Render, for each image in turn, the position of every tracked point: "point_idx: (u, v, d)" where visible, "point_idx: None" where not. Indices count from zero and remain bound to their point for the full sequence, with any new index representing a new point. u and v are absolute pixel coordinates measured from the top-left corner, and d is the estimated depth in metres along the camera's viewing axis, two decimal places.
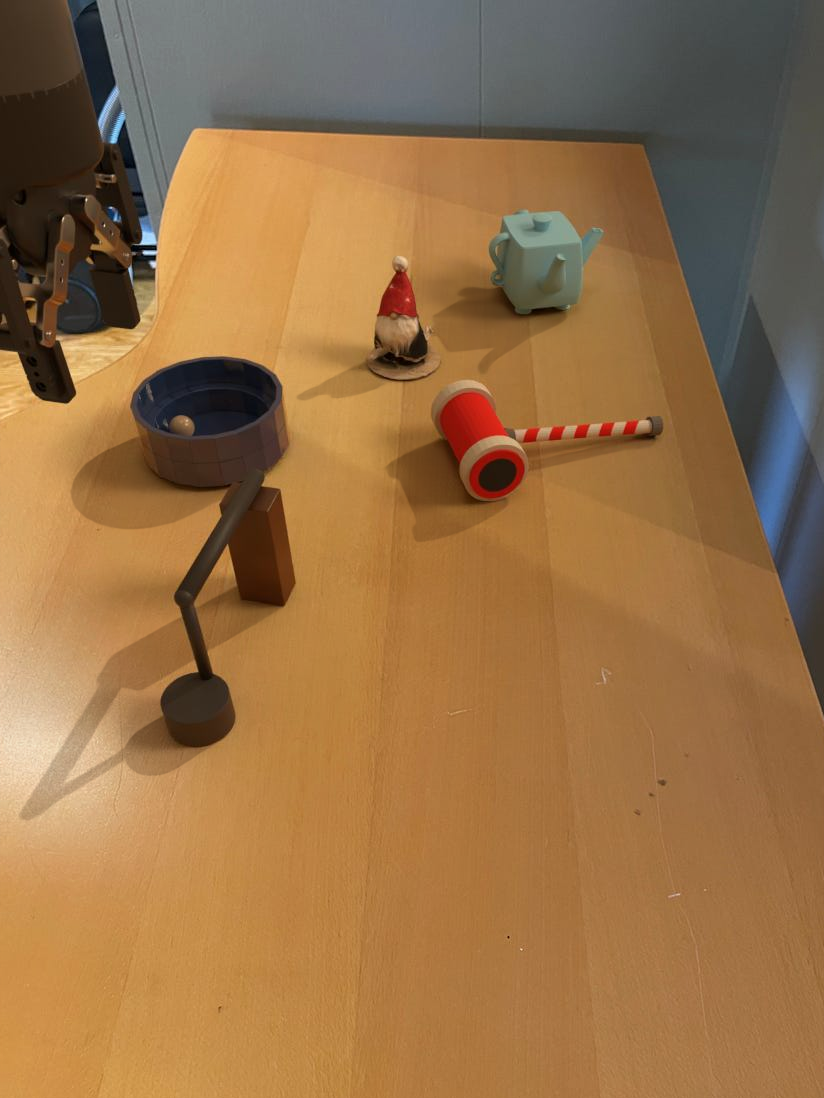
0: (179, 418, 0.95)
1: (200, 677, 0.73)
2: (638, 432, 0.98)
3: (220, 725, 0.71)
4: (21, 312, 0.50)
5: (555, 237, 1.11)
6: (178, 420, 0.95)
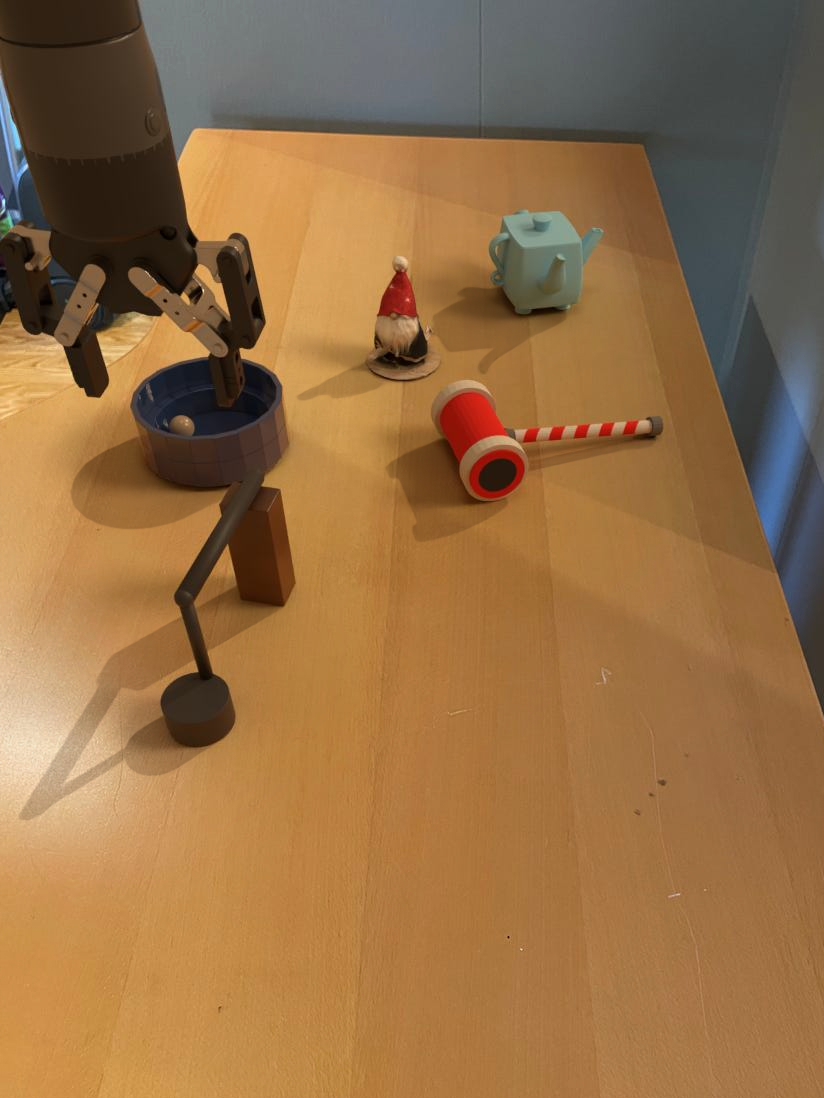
0: (179, 418, 0.95)
1: (200, 677, 0.73)
2: (638, 432, 0.98)
3: (220, 725, 0.71)
4: (27, 301, 0.57)
5: (555, 237, 1.11)
6: (178, 420, 0.95)
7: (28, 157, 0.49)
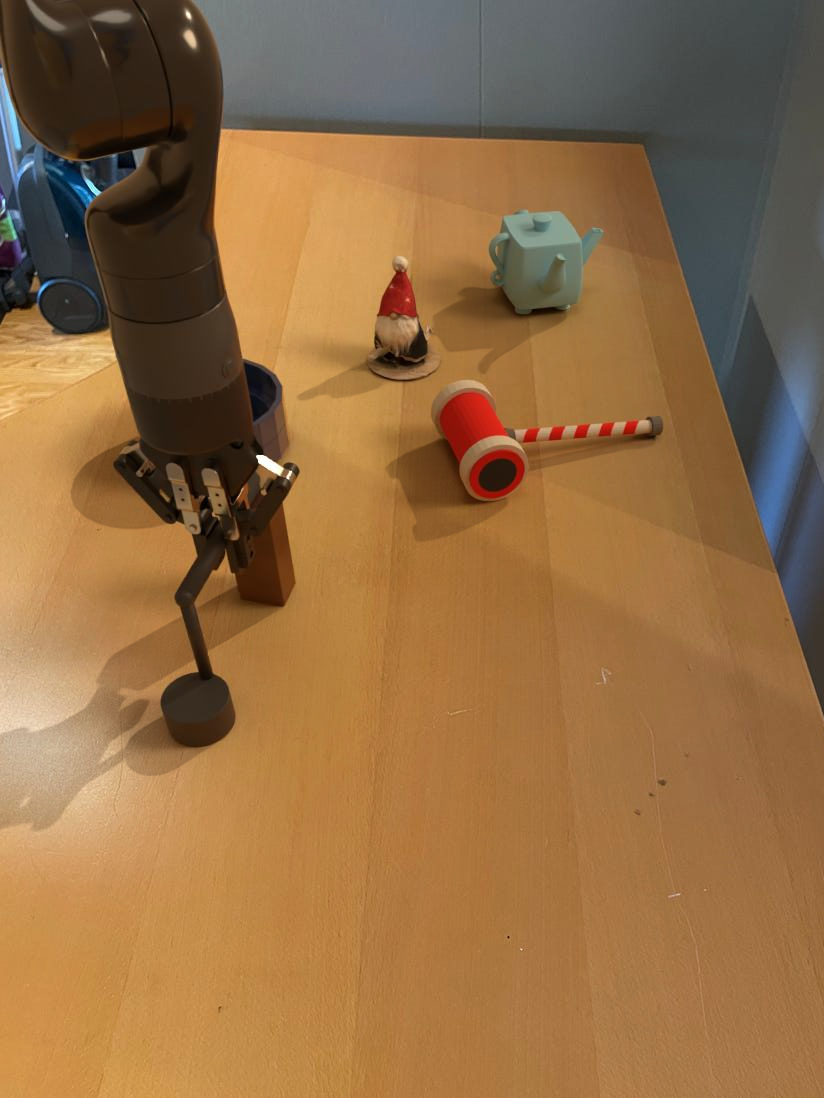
0: None
1: (200, 677, 0.73)
2: (638, 432, 0.98)
3: (220, 725, 0.71)
4: (154, 500, 0.69)
5: (555, 237, 1.11)
6: None
7: (127, 390, 0.60)
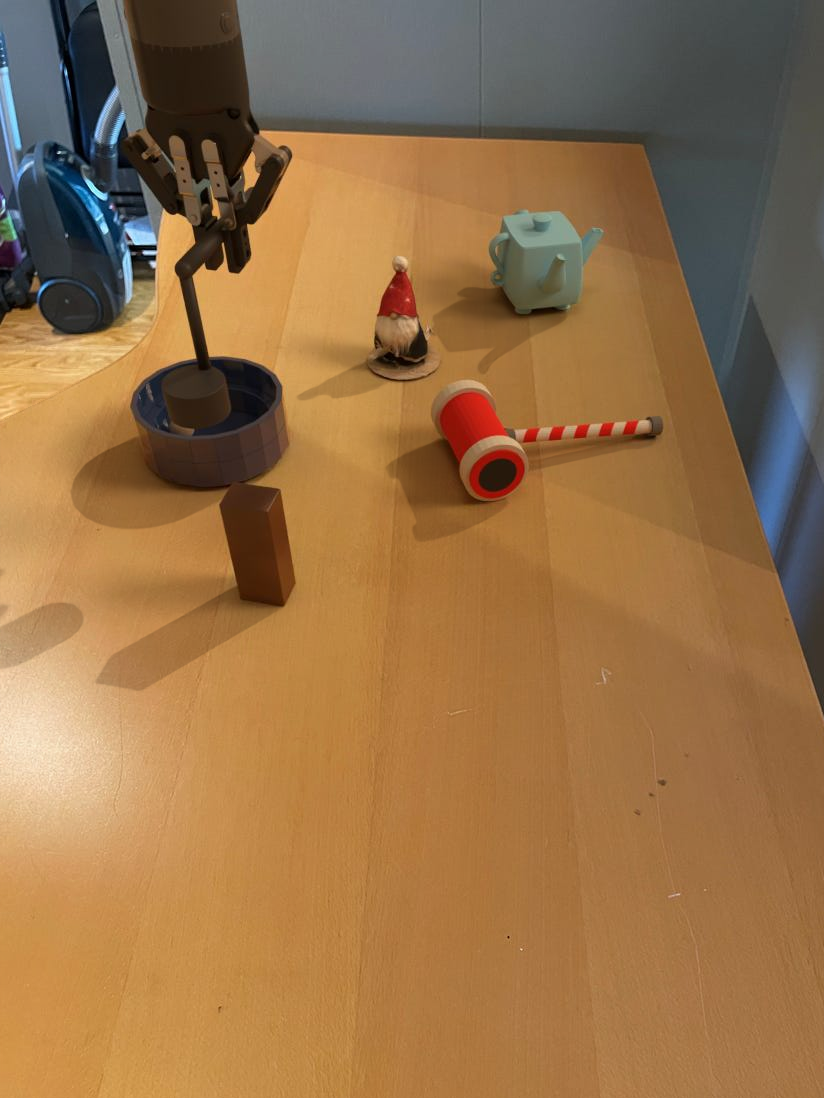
0: None
1: (199, 368, 0.78)
2: (638, 432, 0.98)
3: (216, 407, 0.77)
4: (158, 187, 0.74)
5: (555, 237, 1.11)
6: None
7: (133, 45, 0.66)
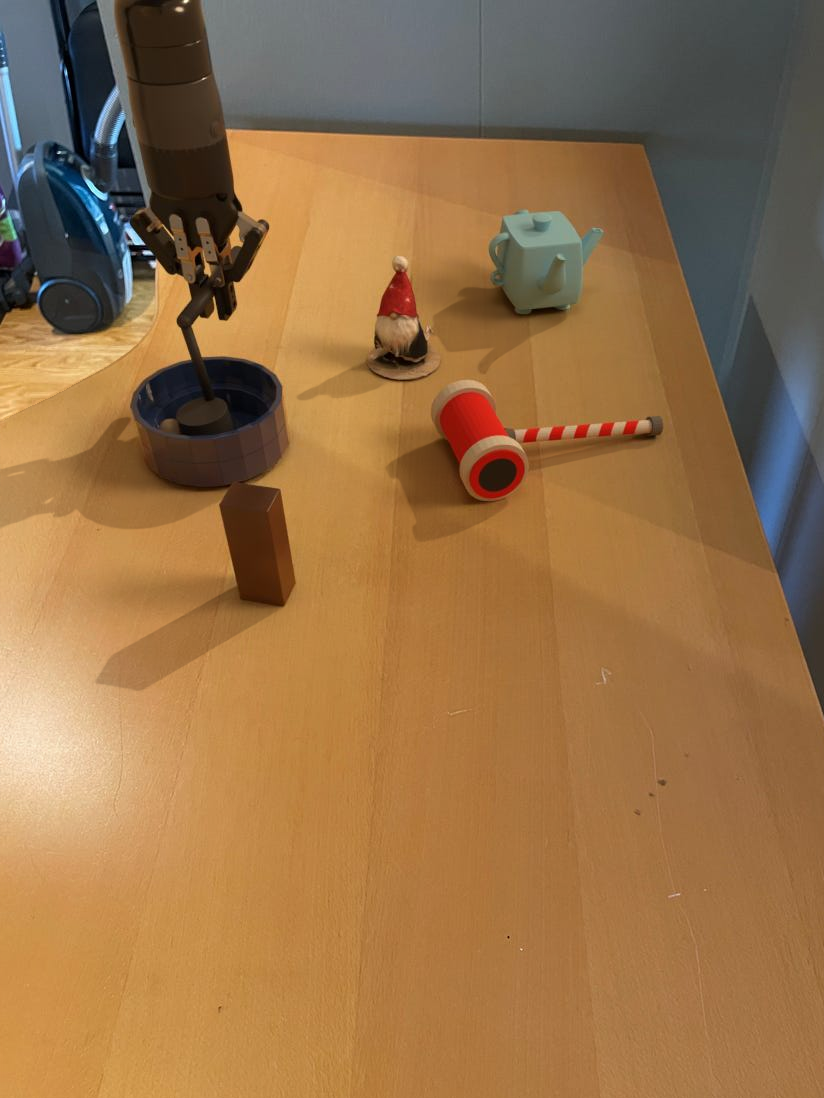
0: (160, 425, 0.95)
1: (205, 399, 0.95)
2: (638, 432, 0.98)
3: (221, 430, 0.94)
4: (160, 253, 0.91)
5: (555, 237, 1.11)
6: (160, 427, 0.95)
7: (141, 147, 0.83)
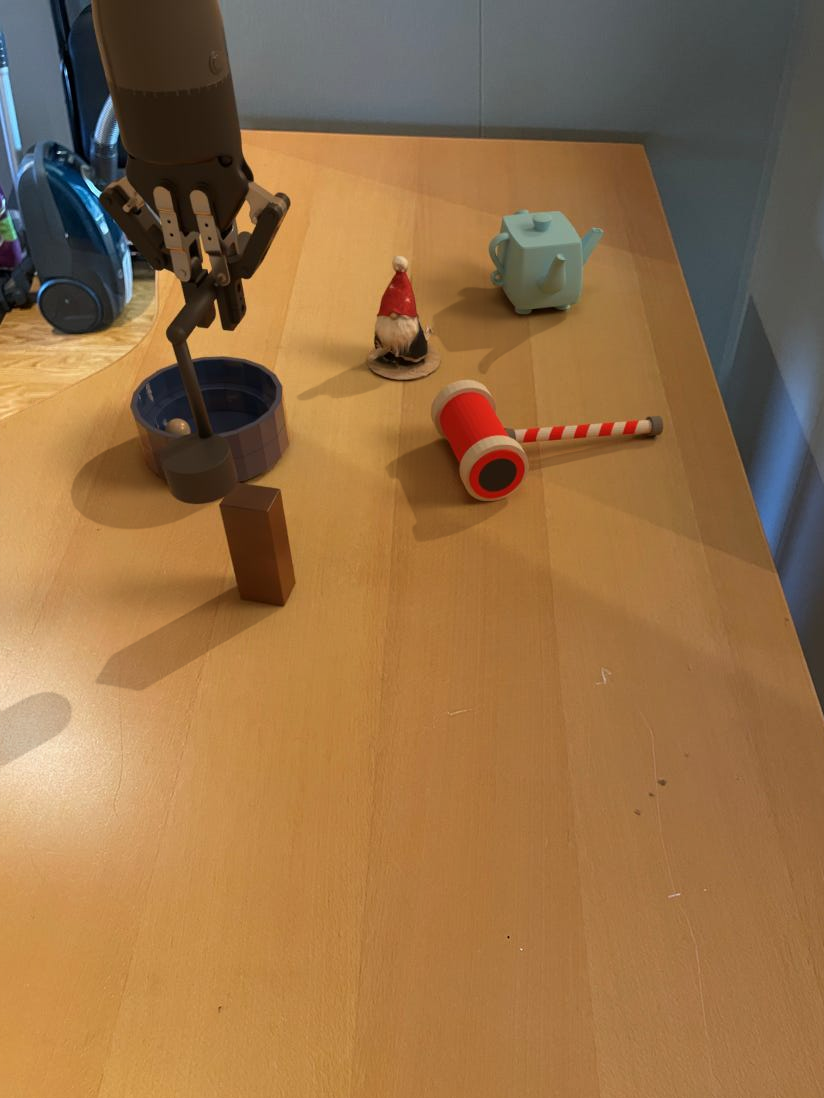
0: (172, 422, 0.95)
1: (200, 436, 0.71)
2: (638, 432, 0.98)
3: (222, 479, 0.70)
4: (142, 241, 0.67)
5: (555, 237, 1.11)
6: (171, 424, 0.95)
7: (112, 90, 0.59)
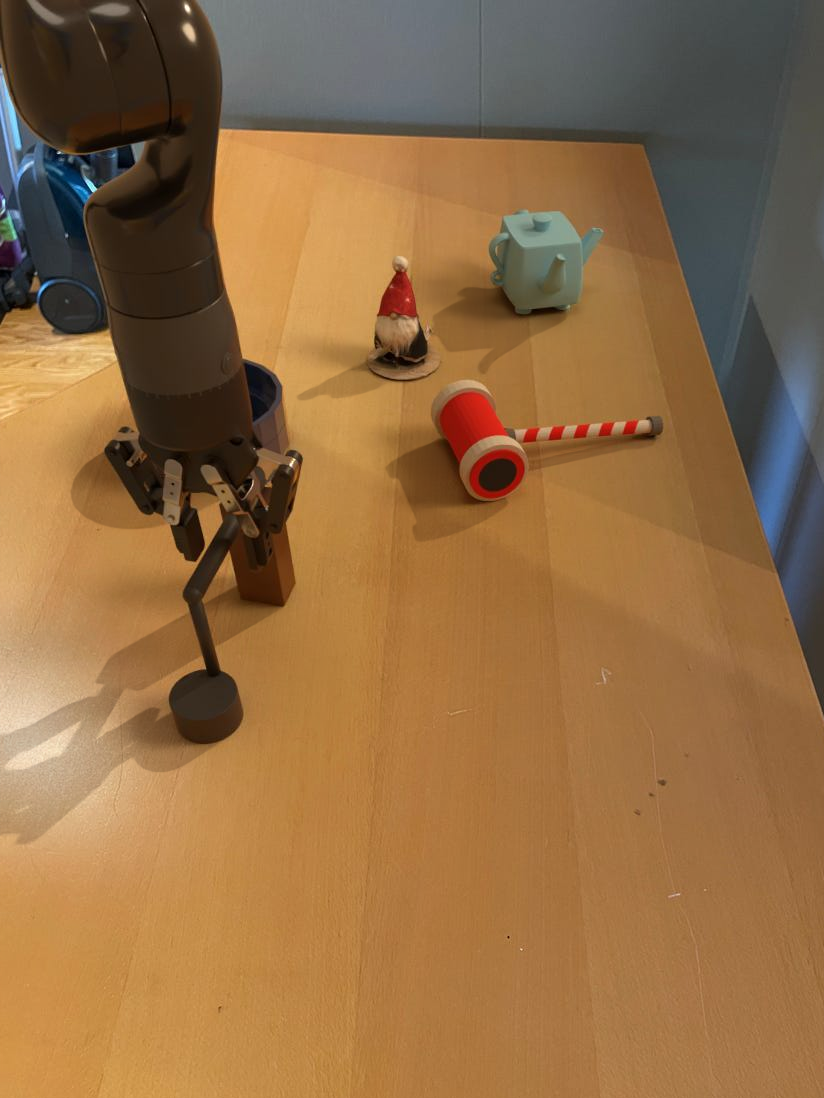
0: None
1: (208, 674, 0.73)
2: (638, 432, 0.98)
3: (228, 722, 0.72)
4: (136, 490, 0.68)
5: (555, 237, 1.11)
6: None
7: (126, 385, 0.60)
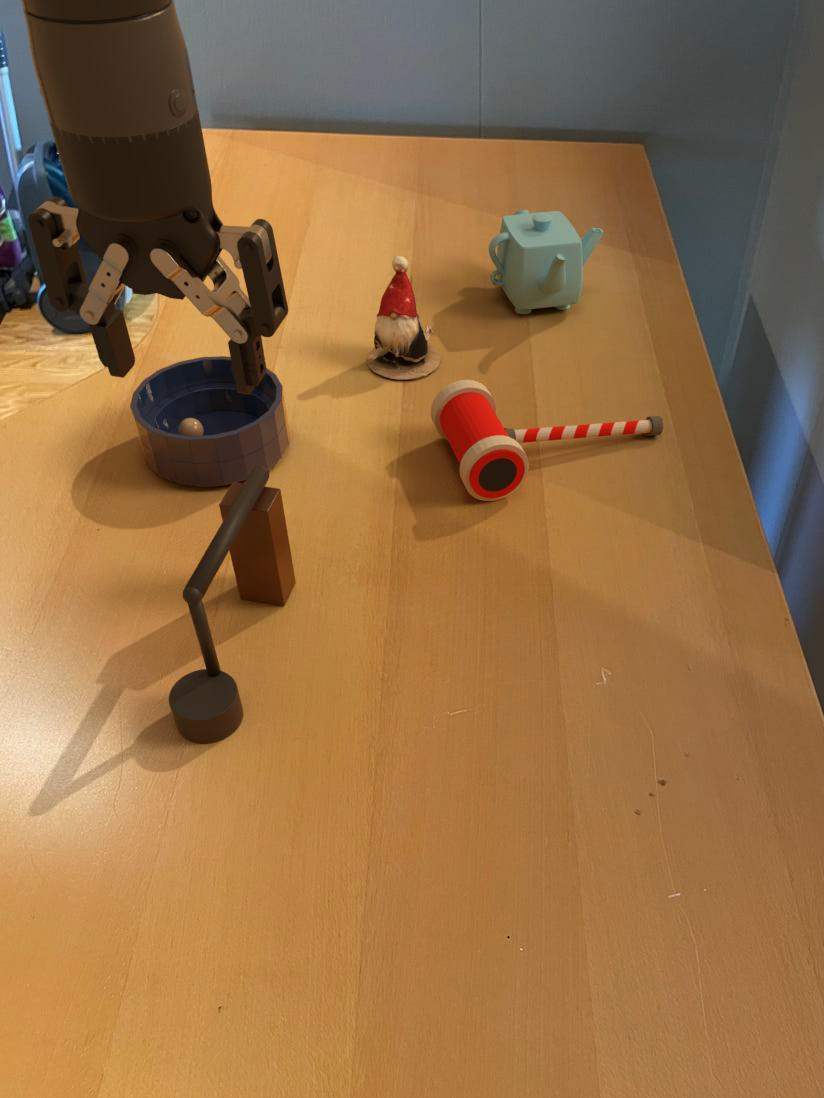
0: (198, 424, 0.95)
1: (208, 674, 0.73)
2: (638, 432, 0.98)
3: (228, 722, 0.72)
4: (54, 278, 0.57)
5: (555, 237, 1.11)
6: (196, 424, 0.95)
7: (54, 133, 0.49)
